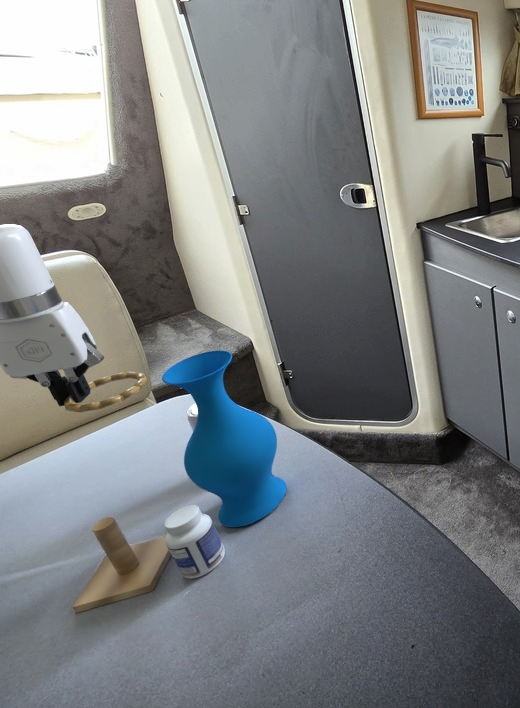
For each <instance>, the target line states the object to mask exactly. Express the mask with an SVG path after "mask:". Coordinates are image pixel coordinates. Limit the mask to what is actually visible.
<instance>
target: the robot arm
mask: <svg viewBox="0 0 520 708" xmlns="http://www.w3.org/2000/svg"><path fill="white" fill-rule="evenodd" d="M104 359H105V356H104V355H103V354H102V353H101V352H100V351H99V350H98V347H97V343H96V341H95V339H94V337H93V335H92V333H91V332H90V329H89V327H88V326H87V325H86V323H85V322H84V320H83V319H82V317H81V316H80V315H79V313H78V312H77V311H76V310H75V308H74V307H73V306H72V305H71V304H70V303H69V302H68V301H63V299H62V297H61V295H60V293H59V291H58V289H57V286H56V284H55V283H54V280H53V279H52V277H51V274H50V272H49V270H48V268H47V267H46V263H45V262H44V260H43V257H42V256H41V254H40V251H39V250H38V248H37V245H36V244H35V241H34V239H33V237H32V235H31V233H30V232H29V230H28V229H26V228H25V227H23V226H22V225H18V224H9V223H8V224H7V223H6V224H0V367H1V369H2V371H3V372H4V374H6V375H7V376H9V377H10V378H11V379H22V380H26V379H28V380H30V381H32V382H36V383H38V384H39V385H40V386H41V387H43V388H47V389H48V391H49V393H50V394H51V396H52V398H53V400H54V401H55V402H56V403H57V405H58V406H59V407H65V405H64V401H65V399H66V398H68V397H69V396H70V395H71V397H72V399H73V400H74V401H75V404H80V403H82V402H83V401H84V400H85V399H86V398H87V397H89V395H90V394H91V390H90V386H89V384H88V380H87V379H86V377H85V374H86V373H87V371H88V370H89V369H90V368H92V367H95V366H96V365H99V364H100V363H101V362H102V361H104ZM60 370H63V372H64V373H63V374H64V376H62V375H61V372H60Z"/></svg>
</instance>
